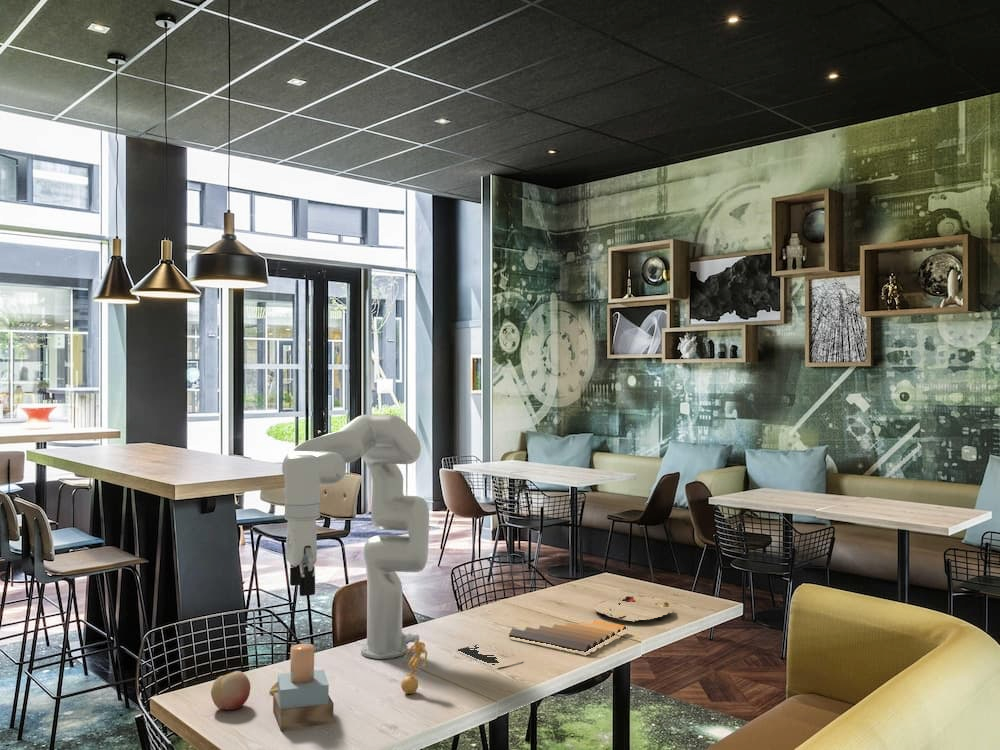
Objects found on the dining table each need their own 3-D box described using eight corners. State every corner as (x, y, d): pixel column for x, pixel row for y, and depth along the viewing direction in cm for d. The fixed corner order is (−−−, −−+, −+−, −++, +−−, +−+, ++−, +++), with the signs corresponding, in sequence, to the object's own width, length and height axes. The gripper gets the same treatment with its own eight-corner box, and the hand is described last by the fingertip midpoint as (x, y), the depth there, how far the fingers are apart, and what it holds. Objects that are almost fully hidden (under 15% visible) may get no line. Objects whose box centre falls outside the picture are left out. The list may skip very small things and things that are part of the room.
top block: (323, 687, 179) (323, 669, 179) (328, 703, 170) (328, 684, 170) (277, 692, 176) (278, 674, 176) (279, 709, 167) (280, 690, 167)
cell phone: (481, 646, 222) (481, 643, 222) (523, 663, 208) (523, 660, 208) (456, 652, 217) (456, 649, 217) (497, 671, 203) (497, 667, 203)
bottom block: (323, 705, 180) (323, 685, 180) (333, 724, 170) (333, 703, 170) (273, 713, 176) (273, 693, 176) (280, 733, 166) (280, 711, 166)
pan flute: (508, 641, 227) (585, 658, 213) (508, 629, 227) (585, 645, 213) (554, 621, 248) (627, 635, 233) (554, 610, 248) (627, 624, 233)
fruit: (229, 699, 183) (229, 664, 183) (257, 704, 180) (257, 669, 180) (203, 712, 175) (204, 675, 176) (232, 717, 172) (232, 680, 173)
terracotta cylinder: (311, 673, 176) (311, 642, 176) (316, 681, 172) (316, 649, 172) (288, 677, 174) (288, 645, 174) (292, 685, 170) (293, 652, 170)
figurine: (393, 690, 189) (393, 639, 189) (414, 684, 192) (414, 634, 193) (412, 700, 182) (412, 648, 182) (433, 694, 186) (434, 642, 186)
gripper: (277, 507, 180) (277, 583, 180) (293, 518, 164) (293, 601, 164) (310, 505, 183) (310, 579, 183) (329, 516, 168) (329, 597, 167)
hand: (302, 589), depth 173 cm, fingers open, 9 cm apart
